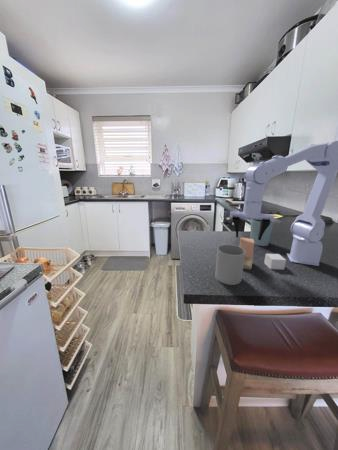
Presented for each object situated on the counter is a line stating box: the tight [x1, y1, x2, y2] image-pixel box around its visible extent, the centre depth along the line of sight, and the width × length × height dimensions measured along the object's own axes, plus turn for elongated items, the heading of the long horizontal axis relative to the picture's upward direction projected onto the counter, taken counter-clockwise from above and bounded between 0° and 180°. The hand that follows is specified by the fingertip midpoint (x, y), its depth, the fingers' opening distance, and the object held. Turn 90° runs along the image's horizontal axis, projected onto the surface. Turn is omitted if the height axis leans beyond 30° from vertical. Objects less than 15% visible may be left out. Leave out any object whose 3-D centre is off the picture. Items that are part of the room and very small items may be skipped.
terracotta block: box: [239, 237, 255, 259], centre depth 70 cm, size 4×4×6 cm
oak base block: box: [243, 254, 254, 270], centre depth 72 cm, size 6×6×4 cm
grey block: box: [263, 253, 287, 271], centre depth 71 cm, size 5×5×4 cm
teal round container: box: [249, 219, 275, 247], centre depth 94 cm, size 10×10×12 cm
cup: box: [214, 244, 245, 286], centre depth 61 cm, size 8×8×10 cm
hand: (247, 237), depth 70 cm, fingers open, 7 cm apart
